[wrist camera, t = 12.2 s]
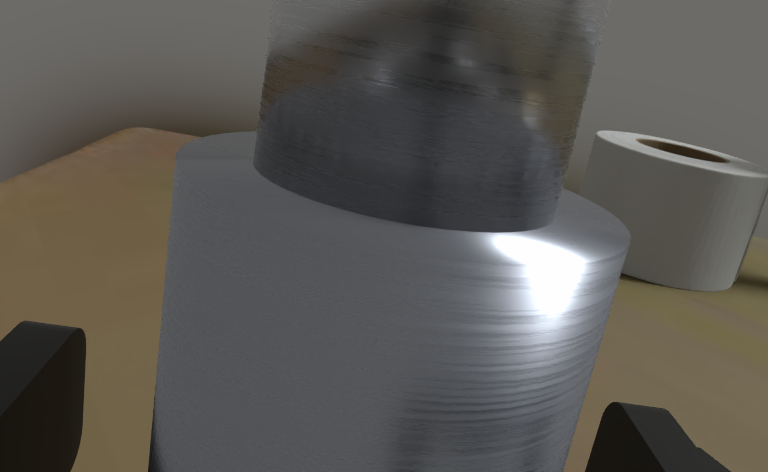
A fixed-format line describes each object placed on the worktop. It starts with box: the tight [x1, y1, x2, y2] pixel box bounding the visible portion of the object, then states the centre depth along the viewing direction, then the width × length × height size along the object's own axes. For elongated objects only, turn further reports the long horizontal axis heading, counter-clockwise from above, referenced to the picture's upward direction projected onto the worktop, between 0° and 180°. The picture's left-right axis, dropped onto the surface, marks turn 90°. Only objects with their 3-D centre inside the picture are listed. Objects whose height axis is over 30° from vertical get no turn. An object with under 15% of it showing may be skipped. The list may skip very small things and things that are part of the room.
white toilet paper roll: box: [579, 131, 768, 292], centre depth 65 cm, size 16×15×11 cm
